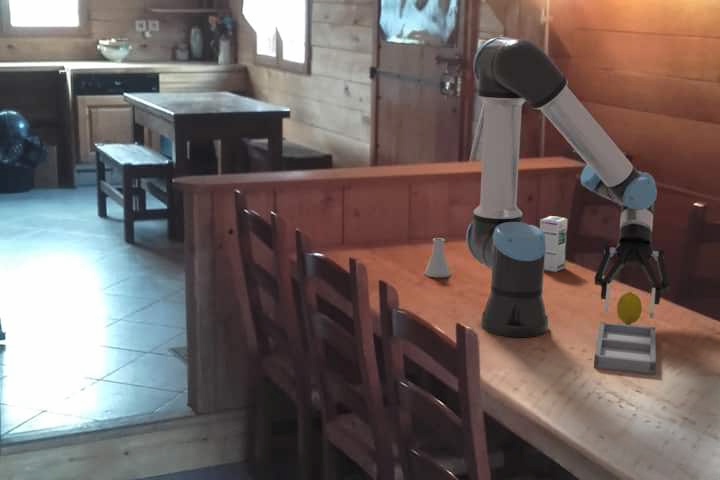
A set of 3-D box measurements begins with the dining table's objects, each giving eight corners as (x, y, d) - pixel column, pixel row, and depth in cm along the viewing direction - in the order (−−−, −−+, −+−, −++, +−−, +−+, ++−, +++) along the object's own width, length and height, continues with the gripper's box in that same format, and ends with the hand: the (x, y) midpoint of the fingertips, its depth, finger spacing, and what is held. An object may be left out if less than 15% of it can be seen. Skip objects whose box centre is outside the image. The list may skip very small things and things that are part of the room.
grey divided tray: (654, 374, 197) (655, 363, 197) (593, 367, 200) (594, 356, 200) (654, 338, 219) (655, 327, 218) (599, 332, 222) (600, 321, 221)
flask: (451, 278, 263) (453, 242, 260) (424, 278, 263) (425, 242, 260) (449, 271, 270) (451, 236, 267) (423, 271, 270) (424, 235, 267)
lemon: (640, 329, 224) (643, 296, 222) (616, 327, 225) (618, 294, 223) (639, 322, 229) (642, 289, 227) (615, 320, 230) (617, 288, 228)
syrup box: (556, 272, 270) (559, 221, 267) (537, 268, 274) (540, 218, 270) (565, 268, 275) (568, 218, 271) (546, 264, 278) (549, 215, 275)
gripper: (682, 242, 234) (677, 325, 223) (588, 235, 240) (579, 315, 229) (685, 226, 228) (680, 310, 217) (588, 218, 234) (579, 300, 223)
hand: (628, 313), depth 223 cm, fingers open, 9 cm apart
